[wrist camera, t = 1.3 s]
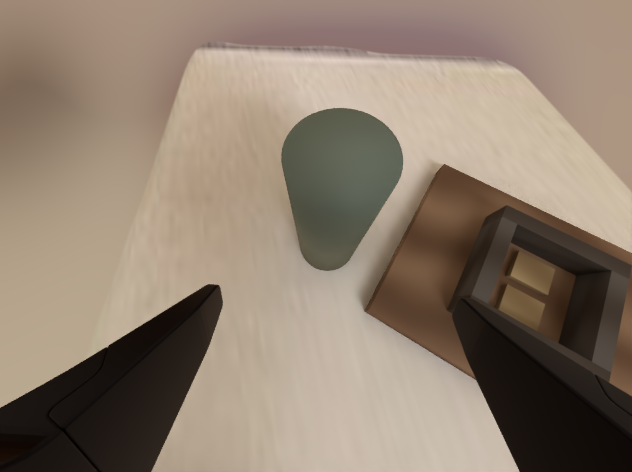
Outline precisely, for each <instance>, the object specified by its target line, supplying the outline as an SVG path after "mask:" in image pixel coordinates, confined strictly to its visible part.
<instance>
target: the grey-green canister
mask: <svg viewBox="0 0 632 472" xmlns="http://www.w3.org/2000/svg"><path fill="white" fill-rule="evenodd" d="M282 167H283V172H284V176H285V181H286V185H287V190H288V194H289V199H290V203H291V208H292V212H293V217H294V221H295V226H296V230H297V235H298V239H299V243H300V248H301V252H302V255H303V257H304V258H305V260H306V261H307V262H308V263H309V264H310V265H312V266H313V267H315V268H317V269H320V270H326V271H329V270H335V269H338V268H340V267H342V266H343V265H345V264H346V263H347V262H348V261H349V259H350V258H351V256H352V255H353V253H354V251H355V250H356V248H357V247H358V245H359V243H360V242H361V240H362V239H363V237H364V236H365V234H366V232H367V231H368V229H369V228H370V226H371V224H372V223H373V221H374V220H375V218H376V216H377V215H378V213H379V212H380V210H381V208H382V207H383V205H384V204H385V202H386V201H387V199H388V197H389V196H390V194H391V193H392V191H393V189H394V188H395V186H396V185H397V183H398V181H399V179H400V177H401V173H402V169H403V155H402V150H401V147H400V144H399V142H398V140H397V138H396V136H395V135H394V134H393V132H392V131H391V130H390V129H389V128H388V127H387V126H386V125H385V124H384V123H383V122H381V121H380V120H378V119H377V118H375V117H373V116H371V115H370V114H367V113H364V112H362V111H358V110H354V109H347V108H333V109H326V110H322V111H319V112H316V113H313V114H311V115H309V116H307V117H306V118H304V119H303V120H301V121H300V122H299V123H298V124H296V125H295V126H294V128H293V129H292V130H291V131H290V133H289V134H288V136H287V138H286V140H285V142H284V145H283V148H282Z"/></svg>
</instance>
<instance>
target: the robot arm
mask: <svg viewBox="0 0 632 472" xmlns="http://www.w3.org/2000/svg"><path fill="white" fill-rule="evenodd" d="M222 306H223V300H222V295H221V289H220V286H219V285H214V284H208V285H206V286H204V287H202V288H201V289H199V290H198V291H196V292H194V293H193V294H191V295H190V296H188V297H186V298H185V299H183V300H182V301H180V302H178V303H177V304H175V305H173V306H172V307H170V308H169V309H167V310H165V311H164V312H162V313H161V314H159V315H157V316H156V317H154V318H152V319H151V320H149V321H148V322H146V323H144V324H143V325H141V326H140V327H138V328H136V329H135V330H133V331H131V332H130V333H128V334H127V335H125V336H123V337H122V338H120V339H119V340H117V341H115V342H114V343H112V344H110V345H109V346H108V348H107V347H106V348H104V349H102V350H101V351H99V352H97V353H96V354H94V355H93V356H91V357H89V358H88V359H86V360H84V361H83V362H81V363H79V364H78V365H76V366H74V367H73V368H71V369H69V370H68V371H66V372H64V373H62V374H60V375H59V376H57V377H55V378H53V379H52V380H50V381H48V382H46V383H45V384H43V385H41V386H39V387H37V388H36V389H34V390H32V391H30V392H28V393H26V394H25V395H23V396H21V397H19V398H18V399H16V400H14V401H12V402H10V403H8V404H7V405H5V406H3V407H1V408H0V472H151V471H152V469H153V467H154V465H155V462H156V460H157V458H158V456H159V454H160V452H161V449H162V447H163V445H164V443H165V441H166V439H167V436H168V434H169V432H170V430H171V428H172V426H173V423H174V421H175V419H176V417H177V415H178V413H179V410H180V408H181V406H182V404H183V402H184V399H185V397H186V395H187V393H188V391H189V389H190V386H191V384H192V382H193V380H194V378H195V376H196V373H197V371H198V369H199V367H200V365H201V363H202V360H203V358H204V356H205V354H206V352H207V349H208V347H209V345H210V342H211V339H212V336H213V333H214V330H215V327H216V324H217V321H218V318H219V315H220V312H221V309H222ZM452 320H453V323H454V325H455V328H456V331H457V334H458V337H459V339H460V342H461V345H462V348H463V351H464V353H465V356H466V359H467V361H468V363H469V365H470V368H471V370H472V372H473V374H474V376H475V378H476V380H477V382H478V385H479V387H480V389H481V391H482V393H483V395H484V397H485V399H486V401H487V404H488V406H489V408H490V410H491V412H492V414H493V416H494V418H495V420H496V423H497V425H498V427H499V429H500V431H501V433H502V435H503V437H504V439H505V442H506V444H507V446H508V448H509V450H510V452H511V454H512V456H513V459H514V461H515V463H516V465H517V467H518V469H519V471H520V472H632V396H631V395H629V394H627V393H626V392H624V391H622V390H621V389H619V388H617V387H616V386H614V385H612V384H611V383H609V382H608V381H606V380H604V379H603V378H601V377H600V376H598V375H594V373H593V372H591V371H590V370H588V369H586V368H585V367H583V366H582V365H580V364H578V363H577V362H575V361H573V360H572V359H570V358H569V357H567V356H565V355H564V354H562V353H560V352H559V351H557V350H556V349H554V348H552V347H551V346H549V345H547V344H546V343H544V342H543V341H541V340H539V339H538V338H536V337H534V336H533V335H531V334H530V333H528V332H526V331H525V330H523V329H521V328H520V327H518V326H517V325H515V324H513V323H512V322H510V321H508V320H507V319H505V318H504V317H502V316H500V315H499V314H497V313H495V312H494V311H492V310H491V309H489V308H487V307H486V306H484V305H482V304H481V303H479V302H478V301H476V300H474V299H472V298H464V297H461V298H459V299H458V301H457V303H456V306H455V308H454V310H453V313H452Z"/></svg>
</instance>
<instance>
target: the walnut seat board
mask: <svg viewBox="0 0 632 472" xmlns="http://www.w3.org/2000/svg"><path fill="white" fill-rule="evenodd" d="M461 297H464V298H472V299H474V300H476V301H478V302H479V303H481V304H482V305H484V306H486V307H487V308H489V309H491V310H492V311H494V312H495V313H497V314H499V315H500V316H502V317H504V318H505V319H507V320H508V321H510V322H512V323H513V324H515V325H517V326H518V327H520V328H521V329H523V330H525V331H526V332H528V333H530V334H531V335H533V336H534V337H536V338H538V339H539V340H541V341H543V342H544V343H546V344H547V345H549V346H551V347H552V348H554V349H556V350H557V351H559V352H560V353H562V354H564V355H565V356H567V357H569V358H570V359H572V360H573V361H575V362H577V363H578V364H580V365H582V366H583V367H585V368H586V369H588V370H590V371H591V372H593V373H594V375H598V376H600V377H601V378H603V379H604V380H606V381H608V382H609V383H611V384H612V385H614V386H616V387H617V388H619V389H621V390H622V391H624V392H626V393H627V394H629V395H631V396H632V253H630V252H628V251H626V250H624V249H622V248H620V247H618V246H616V245H613V244H611V243H609V242H607V241H605V240H603V239H601V238H599V237H597V236H594V235H592V234H590V233H588V232H586V231H584V230H582V229H580V228H578V227H576V226H573V225H571V224H569V223H567V222H565V221H563V220H561V219H559V218H557V217H555V216H552V215H550V214H548V213H546V212H544V211H542V210H540V209H538V208H536V207H534V206H531V205H529V204H527V203H525V202H523V201H521V200H519V199H517V198H515V197H512V196H510V195H508V194H506V193H504V192H502V191H500V190H498V189H496V188H494V187H491V186H489V185H487V184H485V183H483V182H481V181H479V180H477V179H475V178H473V177H470V176H468V175H466V174H464V173H462V172H460V171H458V170H456V169H454V168H452V167H449V166H447V165H445V164H444V165H443V166H442V167H441V168H440V169H439V170H438V172H437V173H436V175H435V177H434V179H433V181H432V182H431V184H430V186H429V188H428V190H427V192H426V194H425V196H424V198H423V200H422V202H421V204H420V206H419V208H418V209H417V211H416V213H415V215H414V217H413V219H412V221H411V223H410V225H409V227H408V229H407V231H406V233H405V234H404V236H403V238H402V240H401V242H400V244H399V246H398V248H397V250H396V252H395V254H394V256H393V258H392V259H391V261H390V263H389V265H388V267H387V269H386V271H385V273H384V275H383V277H382V279H381V281H380V283H379V284H378V286H377V288H376V290H375V292H374V294H373V296H372V298H371V300H370V302H369V304H368V306H367V308H366V309H365V312H367V313H368V314H370V315H371V316H373V317H375V318H376V319H378V320H380V321H381V322H383V323H384V324H386V325H388V326H389V327H391V328H393V329H394V330H396V331H397V332H399V333H401V334H402V335H404V336H406V337H407V338H409V339H410V340H412V341H414V342H415V343H417V344H419V345H420V346H422V347H423V348H425V349H427V350H428V351H430V352H432V353H433V354H435V355H436V356H438V357H440V358H441V359H443V360H445V361H446V362H448V363H449V364H451V365H453V366H454V367H456V368H458V369H459V370H461V371H462V372H464V373H466V374H467V375H469V376H470V377H472V378H474V379H475V380H476V378H475V376H474V374H473V372H472V370H471V368H470V365H469V363H468V361H467V359H466V356H465V353H464V351H463V348H462V345H461V342H460V339H459V337H458V334H457V331H456V328H455V325H454V323H453V320H452V313H453V310H454V308H455V306H456V303H457V301H458V299H459V298H461Z"/></svg>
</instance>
